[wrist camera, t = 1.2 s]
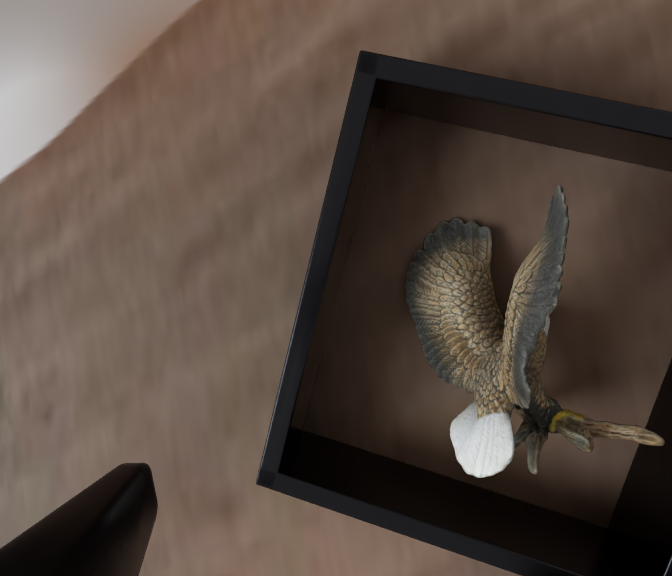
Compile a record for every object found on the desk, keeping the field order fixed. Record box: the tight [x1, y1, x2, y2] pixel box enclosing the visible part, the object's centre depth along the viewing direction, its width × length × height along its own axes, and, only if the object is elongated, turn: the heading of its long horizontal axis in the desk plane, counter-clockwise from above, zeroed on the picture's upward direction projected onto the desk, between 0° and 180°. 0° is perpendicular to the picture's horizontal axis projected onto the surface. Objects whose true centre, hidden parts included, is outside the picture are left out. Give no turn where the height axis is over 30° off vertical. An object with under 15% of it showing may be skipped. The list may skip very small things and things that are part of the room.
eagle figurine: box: [405, 185, 665, 478], centre depth 17 cm, size 8×7×9 cm
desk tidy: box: [256, 51, 672, 576], centre depth 18 cm, size 16×17×4 cm
